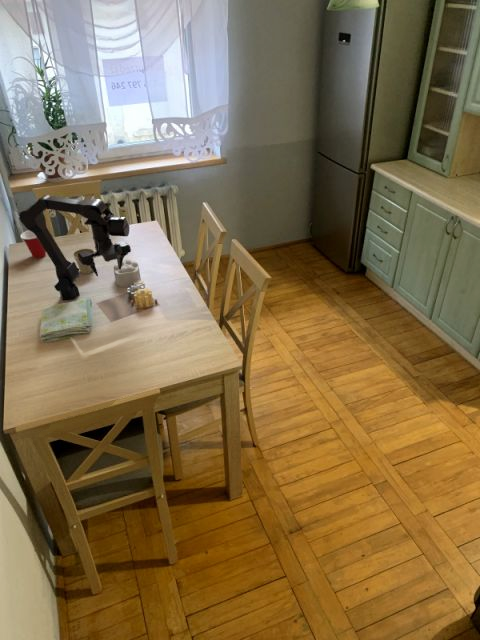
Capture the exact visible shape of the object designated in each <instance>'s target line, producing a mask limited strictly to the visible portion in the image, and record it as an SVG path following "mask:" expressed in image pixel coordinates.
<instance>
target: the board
mask: <svg viewBox="0 0 480 640" xmlns="http://www.w3.org/2000/svg"><path fill="white" fill-rule="evenodd" d="M152 299H153V304H150V305H149V306H148V307H146V306H145V307H143V308H142V307H140V306H136V303H135V299H132V298H129V297H128V293H127V292H126V293H123V294H121V295H117V296H113V297H111V298H107V299H105V300H101V301H98V302H96V303H95V304H96V305H97V306H98V308H99V309H100V310H101V311H102V313H103V314H104V315H105V316H106V317H107V319H108V320H109V321H110V322H111V323H112V322H115V321H118V320H120V319H124V318H127V317H129V316H132V315H135V314H137V313H142V312H144V311H146V310H149V309H152V308H153V309H154V308H155V307H158V306H160V303H159V302H158V299H157V298H153V296H152Z"/></svg>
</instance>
